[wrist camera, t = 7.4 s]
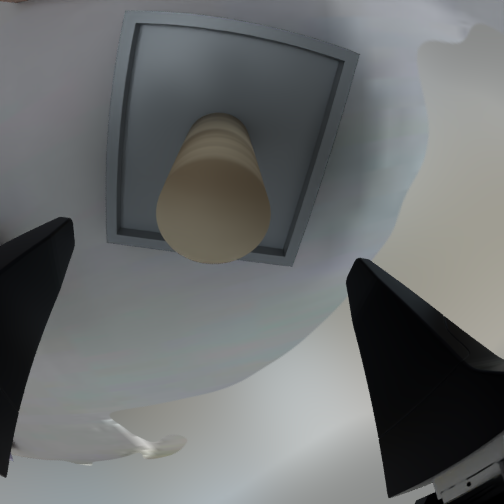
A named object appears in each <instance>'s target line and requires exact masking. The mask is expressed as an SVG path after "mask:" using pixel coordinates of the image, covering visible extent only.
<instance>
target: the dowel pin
mask: <svg viewBox="0 0 504 504" xmlns="http://www.w3.org/2000/svg"><path fill="white" fill-rule="evenodd" d="M270 218H271V209H270V203H269V199H268V196H267V193H266V189H265V186H264V183H263V179H262V176H261V173H260V169H259V166H258V163H257V160H256V156H255V153H254V150H253V147H252V144H251V140H250V137H249V134H248V131H247V129H246V127H245V126H244V124H243V123H242V122H241V121H240V120H239V119H237V118H236V117H234V116H232V115H229V114H226V113H211V114H207V115H205V116H203V117H201V118H200V119H198V120H197V121H196V122H195V123H194V124H193V125H192V127H191V128H190V130H189V132H188V134H187V136H186V138H185V140H184V142H183V145H182V147H181V149H180V151H179V153H178V155H177V157H176V159H175V162H174V164H173V166H172V168H171V170H170V173H169V175H168V177H167V179H166V182H165V184H164V186H163V189H162V191H161V193H160V196H159V199H158V202H157V207H156V219H157V224H158V228H159V230H160V232H161V235H162V236H163V238H164V240H165V241H166V242H167V243H168V245H169V246H170V247H171V248H172V249H173V250H175V251H176V252H177V253H179V254H180V255H182V256H184V257H185V258H188V259H190V260H193V261H196V262H200V263H206V264H221V263H227V262H231V261H234V260H237V259H240V258H242V257H244V256H245V255H247V254H248V253H250V252H251V251H252V250H254V249H255V248H256V247H257V246H258V245H259V244H260V242H261V241H262V240H263V238H264V237H265V235H266V233H267V230H268V228H269V224H270Z"/></svg>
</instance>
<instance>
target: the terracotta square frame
mask: <svg viewBox="0 0 504 504" xmlns="http://www.w3.org/2000/svg"><path fill="white" fill-rule="evenodd" d="M0 1H3V2H14V3H18V2H22V1H26V0H0Z"/></svg>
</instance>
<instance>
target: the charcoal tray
mask: <svg viewBox="0 0 504 504" xmlns="http://www.w3.org/2000/svg"><path fill="white" fill-rule="evenodd" d="M359 55H360V54H358V53H356V52H353V51H350V50H348V49H345V48H342V47H339V46H336V45H333V44H330V43H327V42H324V41H321V40H318V39H315V38H311V37H308V36H305V35H301V34H298V33H294V32H290V31H286V30H282V29H278V28H274V27H270V26H265V25H261V24H256V23H251V22H246V21H240V20H235V19H229V18H222V17H215V16H208V15H199V14H190V13H178V12H163V11H125V15H124V20H123V24H122V29H121V34H120V40H119V45H118V51H117V57H116V63H115V70H114V77H113V85H112V93H111V102H110V112H109V124H108V138H107V157H106V234H107V243H113V244H121V245H128V246H135V247H143V248H150V249H158V250H165V251H173V252H176V251H175V250H173V249H172V248H171V247H170V246H169V245H168V243H167V242H166V241H165V240H164V238H163V236H162V235H161V232H160V230H159V228H158V224H157V219H156V207H157V202H158V199H159V196H160V193H161V191H162V189H163V186H164V184H165V182H166V179H167V177H168V175H169V173H170V170H171V168H172V166H173V164H174V162H175V159H176V157H177V155H178V153H179V151H180V149H181V147H182V145H183V142H184V140H185V138H186V136H187V134H188V132H189V130H190V128H191V127H192V125H193V124H194V123H195V122H196V121H197V120H198V119H200V118H201V117H203V116H205V115H207V114H211V113H226V114H229V115H232V116H234V117H236V118H237V119H239V120H240V121H241V122H242V123H243V124H244V126H245V127H246V129H247V131H248V134H249V137H250V140H251V144H252V147H253V150H254V153H255V156H256V160H257V163H258V166H259V169H260V173H261V176H262V179H263V183H264V186H265V189H266V193H267V196H268V199H269V203H270V209H271V218H270V224H269V228H268V230H267V233H266V235H265V237H264V238H263V240H262V241H261V242H260V244H259V245H258V246H257V247H256V248H255V249H254V250H252V251H251V252H250V253H248V254H247V255H245V256H244V257H242V258H240V259H237V260H243V261H251V262H258V263H266V264H275V265H283V266H291V267H292V266H293V263H294V260H295V257H296V255H297V252H298V249H299V246H300V243H301V240H302V237H303V235H304V232H305V229H306V226H307V223H308V220H309V217H310V214H311V211H312V208H313V205H314V202H315V199H316V196H317V193H318V190H319V187H320V184H321V181H322V178H323V175H324V172H325V169H326V166H327V163H328V159H329V156H330V153H331V150H332V147H333V144H334V140H335V137H336V134H337V131H338V127H339V124H340V121H341V117H342V114H343V111H344V107H345V104H346V101H347V97H348V94H349V90H350V87H351V83H352V80H353V76H354V73H355V69H356V66H357V62H358V58H359Z"/></svg>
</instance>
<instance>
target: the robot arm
mask: <svg viewBox="0 0 504 504" xmlns="http://www.w3.org/2000/svg"><path fill="white" fill-rule="evenodd" d="M74 246H75V240H74V230H73V222H72V220H71V219H70V218H65V217H58V218H56V219H54V220H52V221H50V222H47V223H45V224H43V225H41V226H39V227H37V228H35V229H33V230H31V231H29V232H26V233H24V234H22V235H20V236H18V237H16V238H14V239H12V240H11V241H9V242H7V243H5V244H3V245H1V246H0V475H1V476H3V477H5V478H6V477H7V472H8V465H9V459H10V453H11V447H12V442H13V437H14V432H15V427H16V423H17V418H18V414H19V412H18V411H19V409H20V405H21V401H22V397H23V394H24V390H25V386H26V383H27V380H28V376H29V373H30V370H31V366H32V363H33V360H34V357H35V354H36V351H37V348H38V345H39V343H40V340H41V337H42V334H43V331H44V329H45V326H46V323H47V321H48V318H49V316H50V313H51V311H52V308H53V306H54V303H55V301H56V299H57V296H58V294H59V291H60V289H61V286H62V283H63V280H64V277H65V274H66V270H67V267H68V264H69V262H70V259H71V256H72V253H73V250H74ZM346 286H347V292H348V298H349V304H350V310H351V317H352V322H353V326H354V331H355V334H356V338H357V342H358V346H359V350H360V354H361V358H362V362H363V367H364V371H365V375H366V380H367V384H368V389H369V392H370V398H371V402H372V407H373V412H374V416H375V422H376V426H377V432H378V438H379V444H380V449H381V455H382V461H383V467H384V474H385V480H386V487H387V494H388V498H391V497H394V496H398V495H400V494H404V493H407V492H410V491H412V490H415V489H418V488H420V487H423V486H426V485H428V484H430V483H433V485H434V488H435V493H432V494H430V495H428V496H425V497H423V498H421V499H419V500H416V502H415V504H504V359H502V358H500V357H498V356H497V355H495V354H494V353H492V352H491V351H490V350H489V349H487V348H486V347H484V346H483V345H482V344H480V343H479V342H478V341H476V340H475V339H474V338H472V337H471V336H470V335H468V334H467V333H466V332H464V331H463V330H462V329H460V328H459V327H458V326H456V325H455V324H454V323H453V322H451V321H450V320H449V319H448V318H446V317H445V316H443V315H442V314H441V313H440V312H439V311H437V310H436V309H435V308H433V307H432V306H431V305H430V304H428V303H427V302H426V301H424V300H423V299H422V298H420V297H419V296H418V295H417V294H415V293H414V292H413V291H411V290H410V289H409V288H407V287H406V286H405V285H403V284H402V283H401V282H399V281H398V280H396V279H395V278H394V277H392V276H391V275H389V274H388V273H387V272H385V271H384V270H383V269H381V268H380V267H379V266H377V265H376V264H374V263H373V262H372V261H370V260H369V259H363V258H358V259H356V260H355V262H354V264H353V266H352V268H351V270H350V272H349V274H348V276H347V280H346Z"/></svg>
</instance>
